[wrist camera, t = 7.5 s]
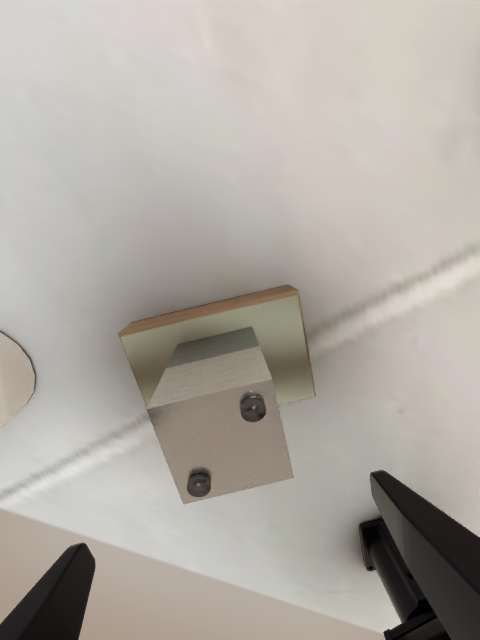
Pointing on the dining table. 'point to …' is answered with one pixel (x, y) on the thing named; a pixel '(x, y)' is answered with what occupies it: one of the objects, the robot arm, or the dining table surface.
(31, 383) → the bottle
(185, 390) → the block
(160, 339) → the riser
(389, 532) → the robot arm
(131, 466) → the dining table surface
